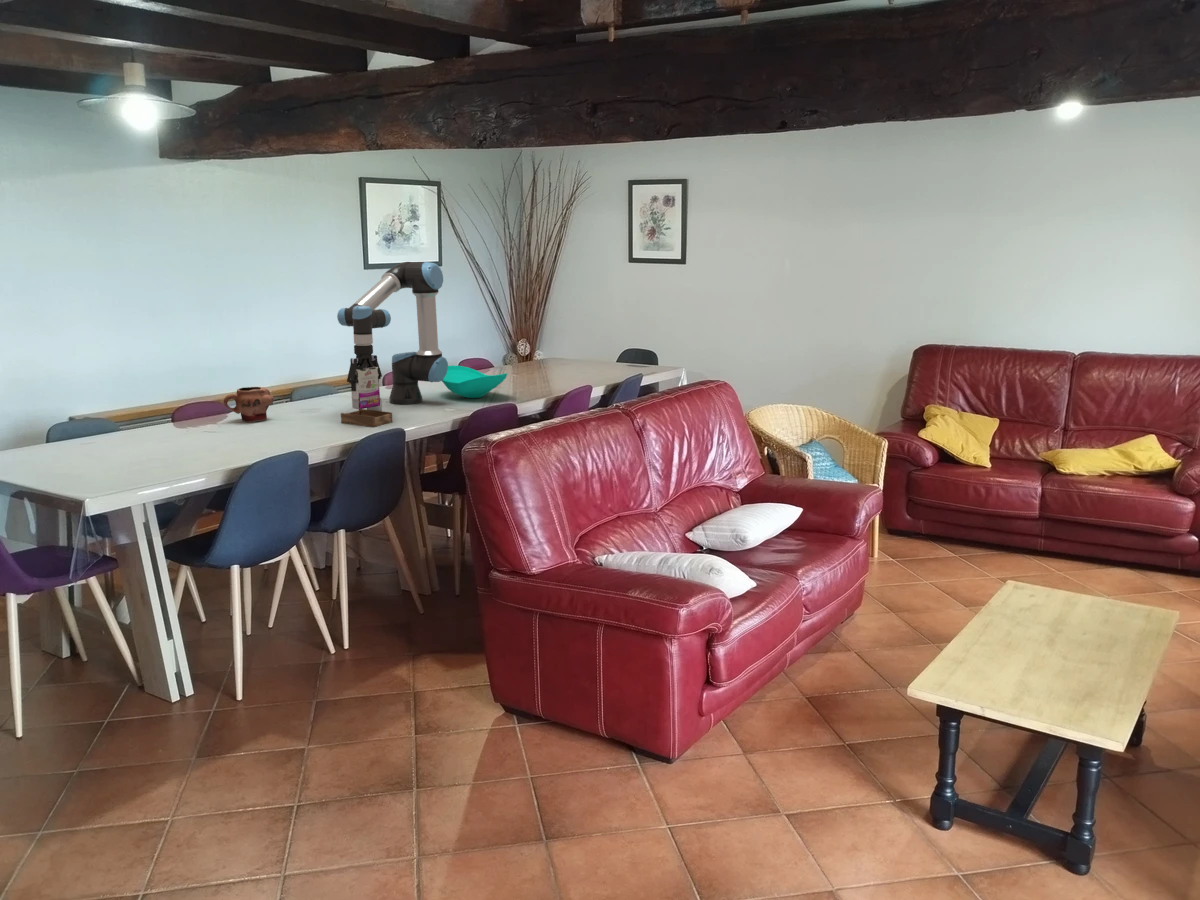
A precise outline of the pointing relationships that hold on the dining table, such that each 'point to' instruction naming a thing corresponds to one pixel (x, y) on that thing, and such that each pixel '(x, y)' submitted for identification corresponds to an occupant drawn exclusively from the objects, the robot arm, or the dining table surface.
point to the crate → (366, 418)
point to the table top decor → (470, 381)
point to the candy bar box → (367, 388)
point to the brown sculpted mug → (251, 403)
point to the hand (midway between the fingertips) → (365, 396)
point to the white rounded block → (377, 408)
